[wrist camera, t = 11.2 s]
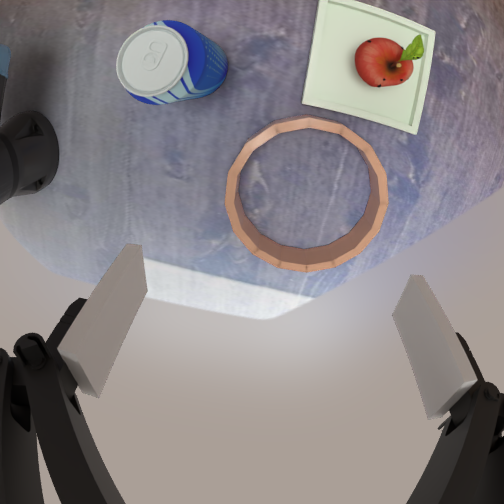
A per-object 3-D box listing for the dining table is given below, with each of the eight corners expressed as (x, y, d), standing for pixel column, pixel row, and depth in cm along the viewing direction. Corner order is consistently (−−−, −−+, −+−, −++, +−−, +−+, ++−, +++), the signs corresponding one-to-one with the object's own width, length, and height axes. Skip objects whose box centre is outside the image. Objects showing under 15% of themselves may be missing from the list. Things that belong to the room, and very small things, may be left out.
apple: (388, 97, 32) (420, 103, 24) (341, 77, 32) (362, 75, 23) (403, 49, 28) (438, 42, 20) (356, 28, 28) (381, 11, 19)
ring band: (223, 242, 47) (218, 258, 43) (241, 103, 36) (236, 105, 32) (354, 264, 47) (360, 280, 43) (393, 136, 36) (406, 143, 32)
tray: (300, 102, 35) (302, 103, 33) (318, -4, 26) (320, -8, 25) (410, 132, 35) (416, 135, 33) (429, 33, 27) (435, 31, 25)
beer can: (239, 81, 34) (215, 78, 20) (182, 108, 36) (129, 124, 23) (213, 29, 30) (175, -2, 17) (158, 58, 32) (94, 50, 19)
